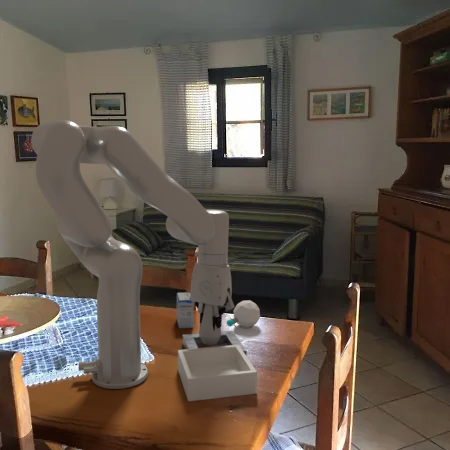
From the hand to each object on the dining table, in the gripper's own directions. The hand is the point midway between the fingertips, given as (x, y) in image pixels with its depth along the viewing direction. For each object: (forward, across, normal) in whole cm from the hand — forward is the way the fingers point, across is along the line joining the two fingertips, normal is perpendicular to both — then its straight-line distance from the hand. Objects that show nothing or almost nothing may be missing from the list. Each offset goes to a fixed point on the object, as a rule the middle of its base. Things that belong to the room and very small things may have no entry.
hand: (210, 328), depth 125 cm
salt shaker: (+4, 0, 0) cm, 4 cm away
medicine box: (+7, -18, +14) cm, 24 cm away
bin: (+7, +10, -12) cm, 17 cm away
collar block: (+7, 0, +1) cm, 7 cm away
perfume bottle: (+6, -2, +20) cm, 21 cm away
